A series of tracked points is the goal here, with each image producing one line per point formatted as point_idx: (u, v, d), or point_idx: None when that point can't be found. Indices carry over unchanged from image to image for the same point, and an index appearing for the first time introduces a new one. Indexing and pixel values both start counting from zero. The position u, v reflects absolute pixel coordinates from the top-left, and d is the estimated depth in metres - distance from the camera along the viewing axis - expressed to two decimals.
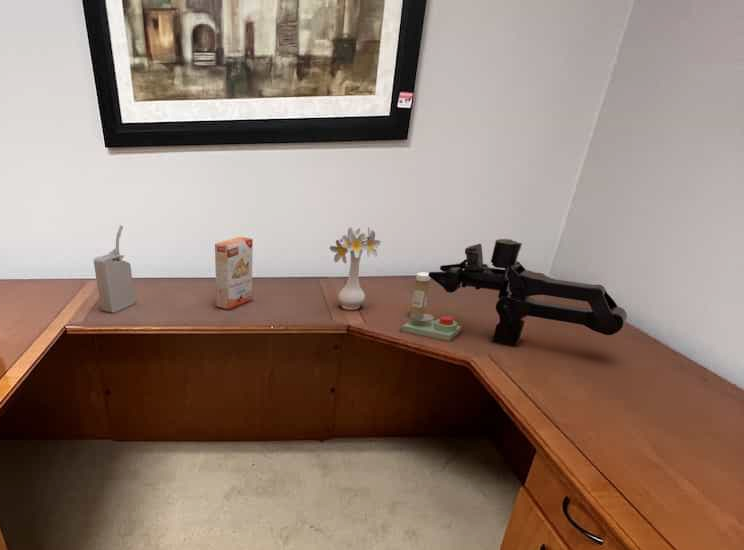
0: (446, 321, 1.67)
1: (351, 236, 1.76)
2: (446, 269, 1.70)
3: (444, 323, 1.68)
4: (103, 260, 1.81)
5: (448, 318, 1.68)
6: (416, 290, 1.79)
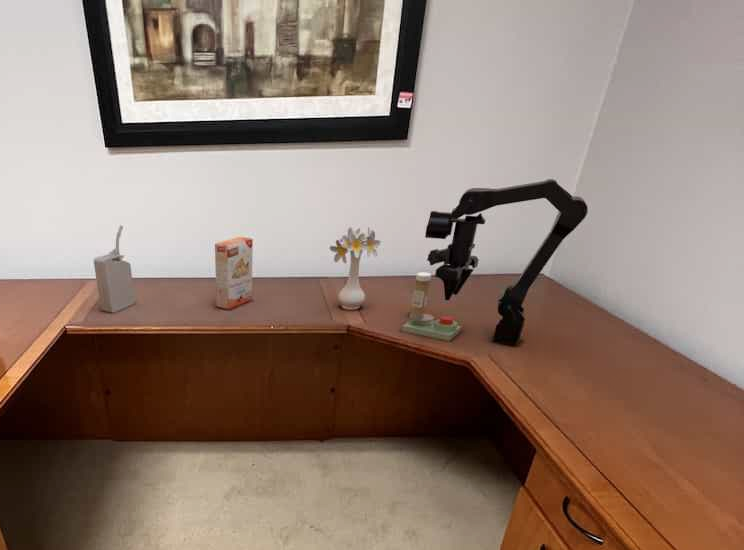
0: (446, 321, 1.67)
1: (351, 236, 1.76)
2: (457, 287, 1.65)
3: (444, 323, 1.68)
4: (103, 260, 1.81)
5: (448, 318, 1.68)
6: (416, 290, 1.79)
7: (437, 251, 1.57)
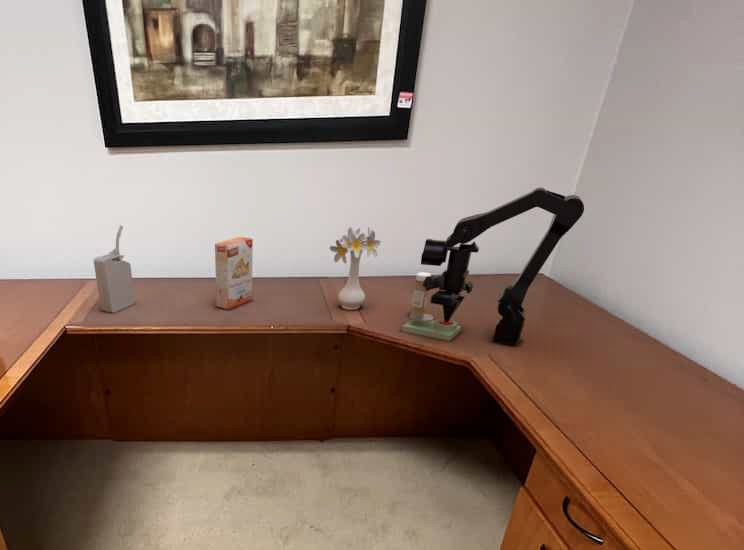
0: (445, 324, 1.68)
1: (351, 236, 1.76)
2: None
3: None
4: (103, 260, 1.81)
5: None
6: (416, 290, 1.79)
7: (432, 277, 1.62)
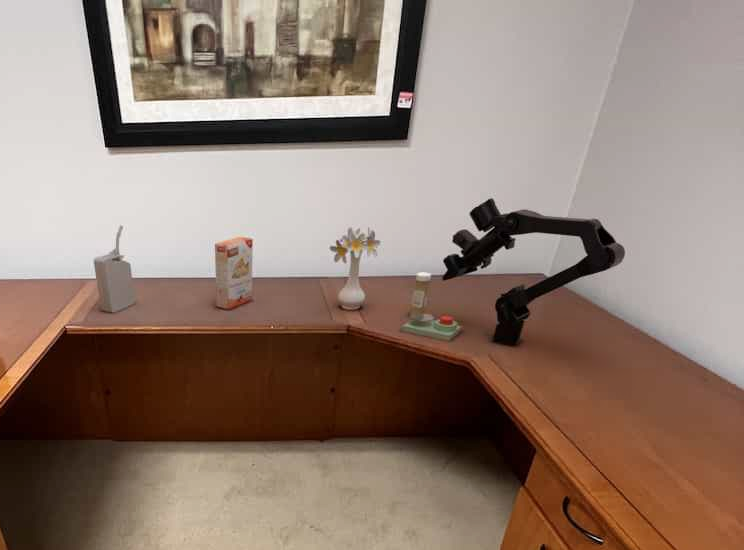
0: (446, 321, 1.67)
1: (351, 236, 1.76)
2: None
3: (444, 323, 1.68)
4: (103, 260, 1.81)
5: (448, 318, 1.68)
6: (416, 290, 1.79)
7: (463, 237, 1.59)
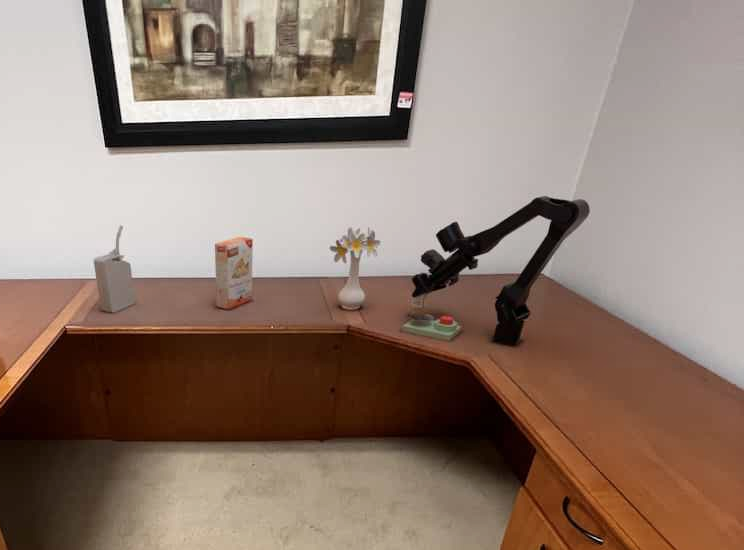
0: (446, 321, 1.67)
1: (351, 236, 1.76)
2: None
3: (444, 323, 1.68)
4: (103, 260, 1.81)
5: (448, 318, 1.68)
6: None
7: (431, 257, 1.69)
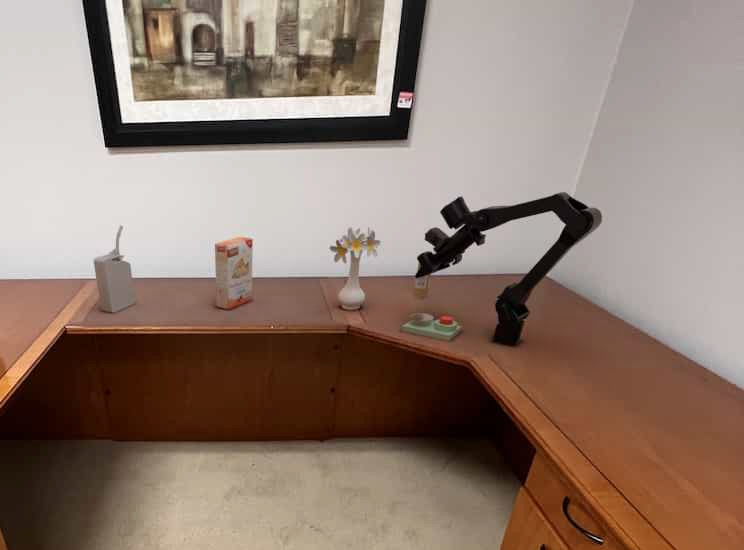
0: (446, 321, 1.67)
1: (351, 236, 1.76)
2: None
3: (444, 323, 1.68)
4: (103, 260, 1.81)
5: (448, 318, 1.68)
6: None
7: (435, 235, 1.63)
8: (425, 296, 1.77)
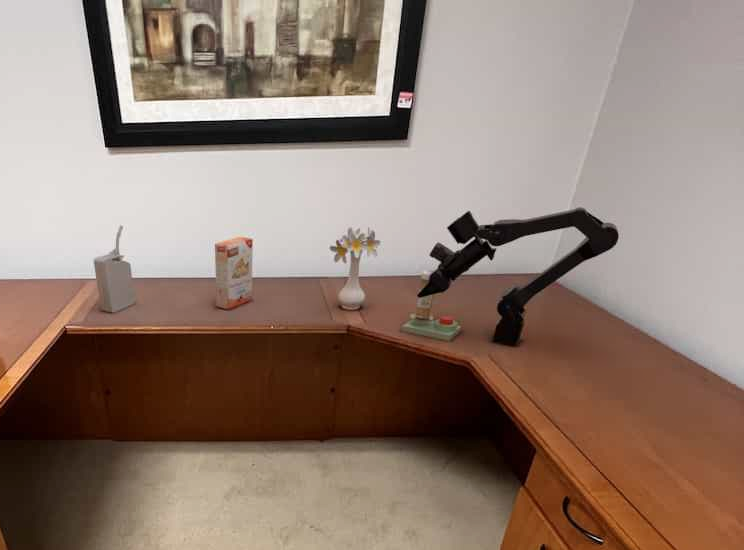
0: (446, 321, 1.67)
1: (351, 236, 1.76)
2: None
3: (444, 323, 1.68)
4: (103, 260, 1.81)
5: (448, 318, 1.68)
6: None
7: (445, 251, 1.57)
8: (429, 315, 1.71)
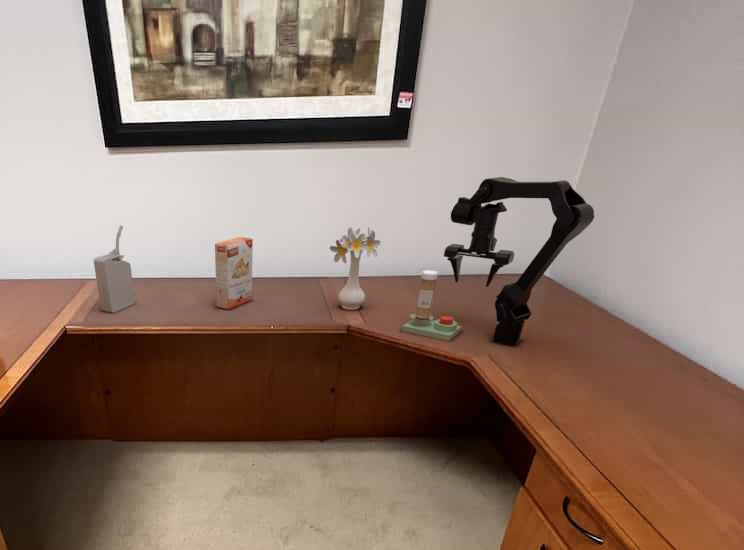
0: (446, 321, 1.67)
1: (351, 236, 1.76)
2: None
3: (444, 323, 1.68)
4: (103, 260, 1.81)
5: (448, 318, 1.68)
6: (424, 290, 1.66)
7: None
8: (429, 315, 1.71)
